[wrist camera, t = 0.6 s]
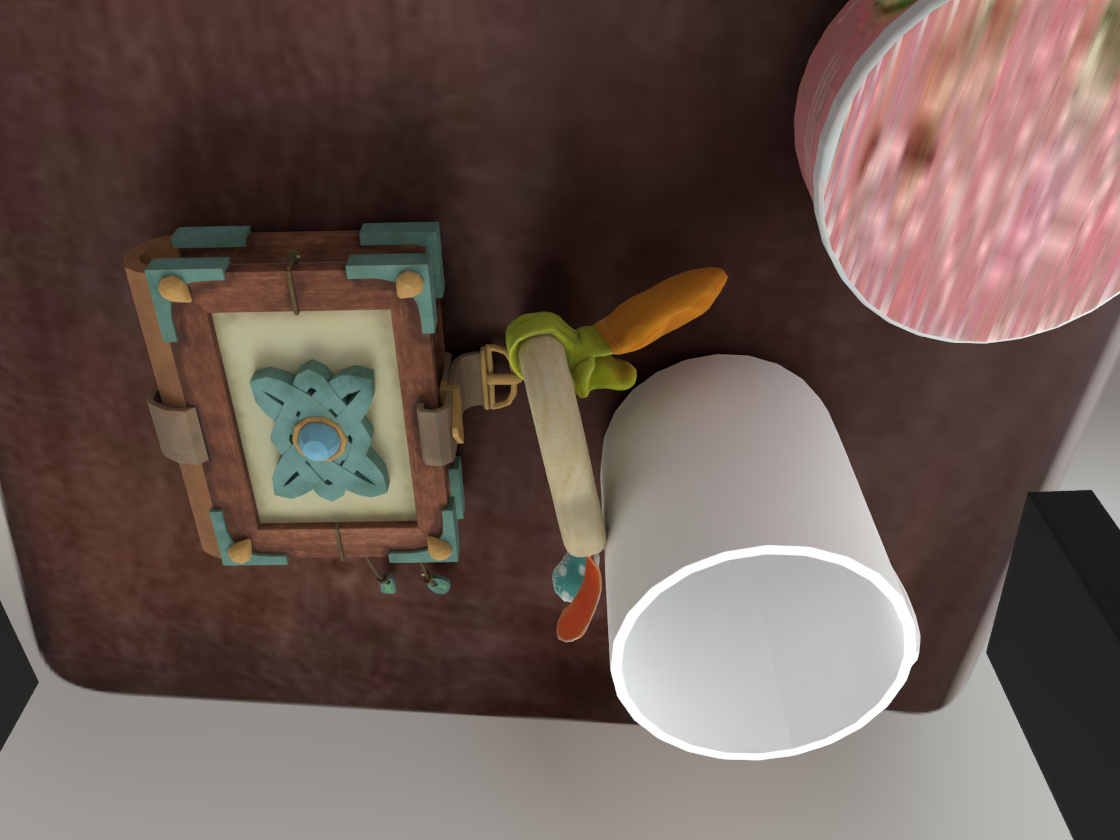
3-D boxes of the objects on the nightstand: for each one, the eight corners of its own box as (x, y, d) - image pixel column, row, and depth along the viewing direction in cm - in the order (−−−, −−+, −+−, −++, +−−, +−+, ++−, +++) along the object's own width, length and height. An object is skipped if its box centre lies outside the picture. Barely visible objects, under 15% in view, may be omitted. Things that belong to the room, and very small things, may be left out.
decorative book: (235, 589, 46) (203, 673, 42) (138, 219, 36) (83, 281, 32) (532, 584, 46) (530, 669, 42) (514, 212, 36) (508, 272, 32)
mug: (626, 327, 39) (648, 523, 29) (928, 376, 40) (1047, 581, 30) (578, 519, 44) (583, 742, 34) (847, 558, 45) (926, 784, 35)
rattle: (654, 302, 42) (730, 575, 41) (463, 347, 39) (541, 636, 39) (732, 252, 35) (825, 581, 34) (504, 303, 32) (601, 656, 32)
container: (1150, -62, 31) (1311, -10, 25) (1021, 253, 37) (1122, 365, 30) (816, -113, 30) (888, -74, 24) (736, 217, 36) (775, 323, 30)
